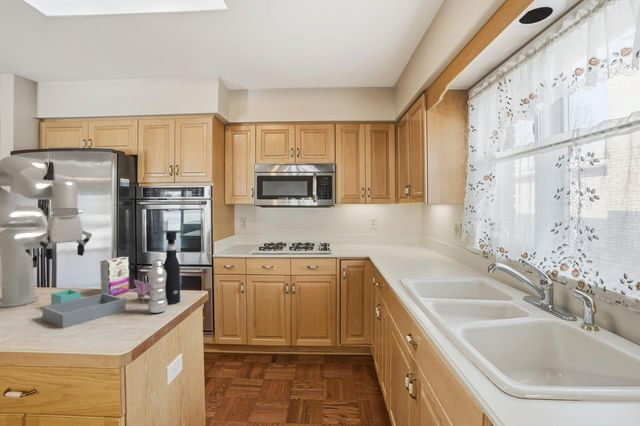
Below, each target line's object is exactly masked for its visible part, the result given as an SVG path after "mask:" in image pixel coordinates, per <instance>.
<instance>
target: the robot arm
mask: <svg viewBox="0 0 640 426" xmlns="http://www.w3.org/2000/svg"><path fill="white" fill-rule="evenodd" d="M47 174H48V165H47V164H46V162H45V161H44V160H42V159H39V158H36V157H35V158H34V157H27V156H26V157H25V156H19V155H9V156H5V157H3V158H1V160H0V228H1V229H2V230H1V231H0V269H1V270H0V271H1V272H0V273H1V274H0V275H1V278H0V279H1V300H0V308H12V307H18V306H23V305H24V306H25V305H28V304H32V303H34V302H36V301H38V300H40V297H39V295H35V291H34V290H35V289H34V287H35V284H34V260H33V259H34V258H33V257H32V256H31V255H30V254H29V253H28V252H27V250H32V249H33V250H35V249H42V248H43V249H44V256H45V258H46V259H47V260H53V248H52V247H53V246H54V245H55V244H60V243H61V244H62V243H73V242H76V243H77V244H78V245H76V246H77V255H78V256H82V257H83V256H84V254H85V246H86V245H87V243H88V242H89V241H90V239H91V237H92V235H93V234H92V233H90V232H88V231H85V230H83V225H82V221H81V217H80V215H79V214H82V209H79V208H78V184H77V182H75V181H72V180H51V179H50V180H49V179H44V177H46V175H47ZM3 187H13V188H14V191H16V193H18V194H20V195H21V196H22V197H24V198H27V199H30V200H51V216H48V219H47V216H46V214H45V213H44V211H43V209H41V208H40V207H38V206H33V205H19V204H18V202H17V200H16V198H15V196H14V195H13V194H12V193H11V192H10V191H8V190H7V189H5V188H3ZM83 235H84V236H85V238H83Z"/></svg>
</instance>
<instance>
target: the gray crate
mask: <svg viewBox="0 0 640 426" xmlns="http://www.w3.org/2000/svg"><path fill="white" fill-rule="evenodd" d="M126 307H127V306H126V298H124V297H120V296H118V295H116V296H113V295H110V294H106V293H102V294H101V293H98V294H94V295H90V296H84V297H81V298H80V299H76V300H71V301H67V302H63V303H58V304H54V305H51V304H49V305H46V306H42V320H43V321H46V322H48V323H50V324H52V325H54V326H56V327H59V328H61V329H66V328H69V327H72V326H76V325H80V324H83V323H86V322H91V321H93V320H96V319H100V318H104V317H107V316H110V315H114V314H116V313H117V314H118V313H120V312H125V311H126Z"/></svg>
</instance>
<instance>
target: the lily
mask: <svg viewBox="0 0 640 426" xmlns="http://www.w3.org/2000/svg"><path fill="white" fill-rule="evenodd" d="M133 282H134V285H135V287H136V288H132V289H131V288H130V290H129V291H128V292H130V293H136V294H137V299H142V304H144V301H145V297H146V296H149V297H150V286H149V281H148V282H146V283H145V282H144V281H141V280H138V279H133Z"/></svg>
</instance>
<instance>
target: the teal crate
mask: <svg viewBox="0 0 640 426" xmlns="http://www.w3.org/2000/svg"><path fill="white" fill-rule="evenodd" d="M50 295H51V297H50V300H51V301H50V303H51V304H50V305H54V304H58V303H63V302H67V301H71V300H76V299H80V298H82V297H81V295H82V294H81V291H78V290H74V289H72V288H71V289H66V290H61V291H55V292H51V293H50Z"/></svg>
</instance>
